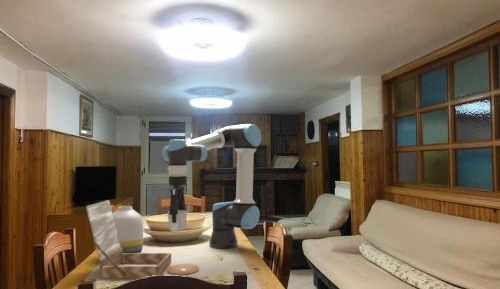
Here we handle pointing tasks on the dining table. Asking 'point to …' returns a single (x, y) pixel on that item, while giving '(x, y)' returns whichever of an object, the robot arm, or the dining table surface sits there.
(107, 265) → the cold frame
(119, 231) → the vase
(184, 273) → the saucer
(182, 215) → the cup
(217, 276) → the dining table surface
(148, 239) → the dining table surface
